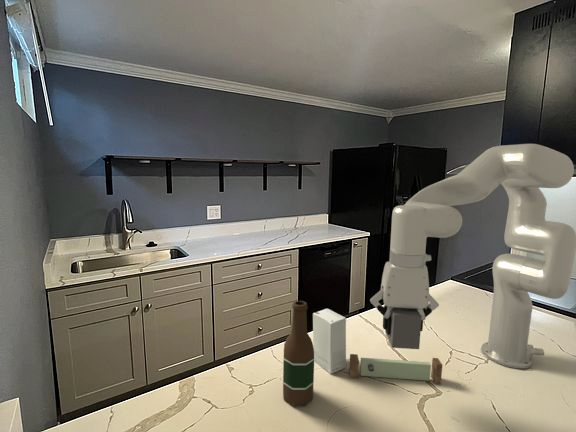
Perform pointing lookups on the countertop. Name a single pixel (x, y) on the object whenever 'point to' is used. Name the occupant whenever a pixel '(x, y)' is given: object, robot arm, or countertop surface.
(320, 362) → the skincare box
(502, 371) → the countertop surface
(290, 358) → the beer bottle
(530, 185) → the robot arm
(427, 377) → the door
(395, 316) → the block
